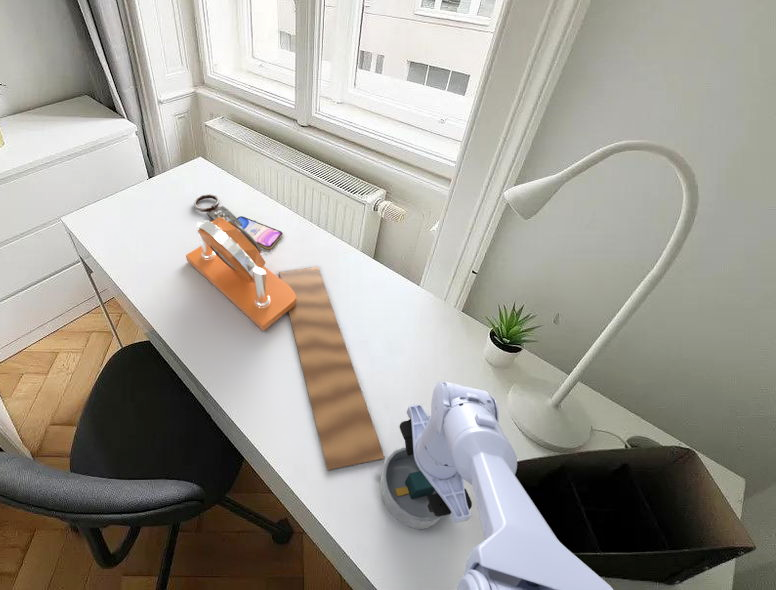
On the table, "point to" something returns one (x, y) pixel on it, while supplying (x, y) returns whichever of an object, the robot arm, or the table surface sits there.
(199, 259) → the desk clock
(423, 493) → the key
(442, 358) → the table surface
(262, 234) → the smartphone
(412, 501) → the bowl
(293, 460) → the table surface
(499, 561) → the robot arm
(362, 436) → the mat
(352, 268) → the table surface
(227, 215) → the keychain
